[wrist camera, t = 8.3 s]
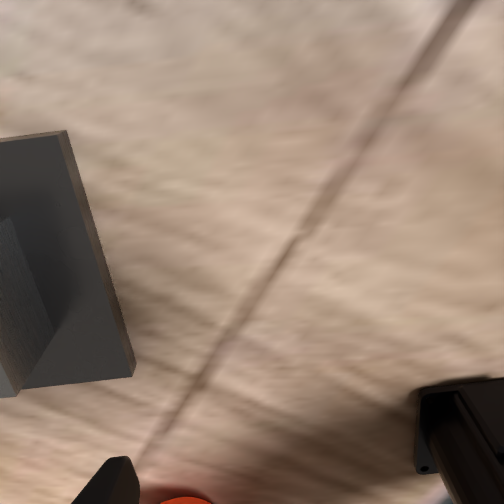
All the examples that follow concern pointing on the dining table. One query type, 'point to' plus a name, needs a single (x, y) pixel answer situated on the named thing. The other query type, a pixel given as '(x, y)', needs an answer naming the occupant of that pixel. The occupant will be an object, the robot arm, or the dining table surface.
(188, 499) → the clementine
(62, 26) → the dining table surface
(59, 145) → the grey socket block
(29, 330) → the grey hollow block
